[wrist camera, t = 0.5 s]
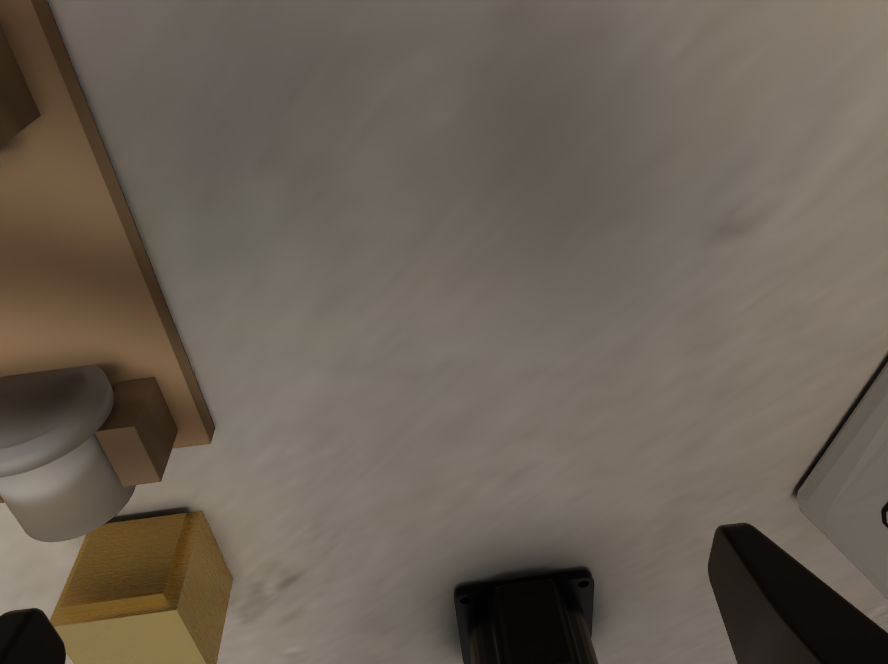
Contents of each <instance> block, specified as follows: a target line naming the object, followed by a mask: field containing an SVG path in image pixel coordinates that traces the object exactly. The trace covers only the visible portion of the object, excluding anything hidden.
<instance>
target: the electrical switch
mask: <svg viewBox="0 0 888 664" xmlns="http://www.w3.org/2000/svg"><path fill="white" fill-rule="evenodd" d="M797 500H798V504H799V507H800V511H801V512H802V513H803V514H804V515H805V516H806V517H807V518H808V519H809V520H810V521H811V522H812V523H813V524H814V525H815V526H816V527H817V528H818V529H819V530H820V531H821V532H822V533H823V534H824V535H825V536H826V537H827V538H828V539H829V540H830V541H831V542H832V543H833V544H834V545H835V546H836V547H837V548H838V549H839V550H840V551H841V552H842V553H843V554H844V555H845V556H846V557H847V558H848V560H849V561H850V562H851V563H852V564H853V565H854V566H855V567H856V568H857V569H858V570H859V571H860V572H861V573H862V574H863V575H864V576H865V577H866V578H867V579H868V580H869V581H870V582H871V583H872V584H873V585H874V586H875V587H876V588H877V589H878V590H879V591H880V592H881V593H882V594H883V595H884V596H885V597H886V598H887V599H888V362H887V363H886V365H885V366H884V368H883V369H882V371H881V372H880V373H879V375H878V376H877V378H876V379H875V381H874V382H873V384H872V385H871V386H870V388H869V389H868V391H867V392H866V394H865V395H864V397H863V398H862V399H861V401H860V402H859V404H858V405H857V407H856V408H855V409H854V411H853V412H852V414H851V415H850V417H849V418H848V420H847V421H846V422H845V424H844V425H843V427H842V428H841V430H840V431H839V433H838V434H837V435H836V437H835V438H834V440H833V441H832V443H831V444H830V446H829V447H828V448H827V450H826V451H825V453H824V454H823V456H822V457H821V459H820V460H819V461H818V463H817V464H816V466H815V467H814V469H813V470H812V471H811V473H810V474H809V476H808V477H807V479H806V480H805V482H804V483H803V484H802V486H801V487H800V489H799V490H798V493H797Z"/></svg>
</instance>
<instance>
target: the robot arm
mask: <svg viewBox="0 0 888 664" xmlns="http://www.w3.org/2000/svg"><path fill="white" fill-rule="evenodd" d="M708 574H709V579H710V583H711V586H712V589H713V592H714V595H715V598H716V601H717V604H718V607H719V610H720V613H721V616H722V619H723V622H724V624H725V627H726V630H727V633H728V636H729V639H730V642H731V645H732V648H733V651H734V654H735V657H736V660H737V663H738V664H888V633H887V632H886V631H885V630H883V629H882V628H881V627H880V626H878V625H877V624H876V623H875V622H873V621H872V620H871V619H869V618H868V617H867V616H866V615H864V614H863V613H862V612H861V611H859V610H858V609H857V608H856V607H854V606H853V605H852V604H851V603H849V602H848V601H847V600H846V599H844V598H843V597H842V596H841V595H839V594H838V593H837V592H836V591H834V590H833V589H832V588H830V587H829V586H828V585H827V584H825V583H824V582H823V581H822V580H820V579H819V578H818V577H817V576H815V575H814V574H813V573H812V572H810V571H809V570H808V569H807V568H805V567H804V566H803V565H802V564H800V563H799V562H798V561H797V560H795V559H794V558H793V557H792V556H790V555H789V554H788V553H786V552H785V551H784V550H783V549H781V548H780V547H779V546H778V545H776V544H775V543H774V542H773V541H771V540H770V539H769V538H768V537H766V536H765V535H764V534H763V533H761V532H760V531H759V530H758V529H756V528H755V527H754V526H752V525H750V524H747V523H737V524H728V525H721V526H719V527H718V528H717V529H716V531H715V534H714V538H713V543H712V548H711V552H710V557H709V561H708ZM593 595H594V581H593V577H592V574H591V572H589V571H587V570H580V571H572V572H565V573H558V574H551V575H544V576H536V577H529V578H522V579H515V580H507V581H500V582H493V583H486V584H479V585H471V586H464V587H460V588H458V589H456V590H455V592H454V601H455V608H456V615H457V622H458V628H459V635H460V642H461V649H462V655H463V662H464V664H598V661H597V657H596V654H595V650H594V647H593V643H592V640H591V635H592V615H593ZM65 659H66V650H65V645H64V642H63V640H62V639H61V637H60V636H59V634H58V633H57V631H56V630H55V628H54V627H53V625H52V624H51V622H50V621H49V619H48V618H47V616H46V615H45V613H44V612H43V611H42V610H40V609H37V608H31V609H22V610H14V611H10V612H7V613H4V614H3V615H1V616H0V664H65Z"/></svg>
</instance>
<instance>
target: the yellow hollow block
mask: <svg viewBox="0 0 888 664" xmlns="http://www.w3.org/2000/svg"><path fill="white" fill-rule="evenodd" d="M232 582H233V578H232V575H231V573H230V571H229V569H228V566H227V564H226V562H225V560H224V558H223V555H222V553H221V551H220V549H219V547H218V544H217V542H216V540H215V538H214V535H213V533H212V531H211V529H210V527H209V524H208V522H207V520H206V518H205V515H204V513H203V511H197V512H189V513H182V514H174V515H167V516H159V517H152V518H144V519H137V520H130V521H122V522H115V523H107V524H103V525H102V526H100V527H99V528H97V529H95V530H93V531H91V532H89V533H87V535H86V537H85V539H84V542H83V544H82V546H81V549H80V551H79V553H78V556H77V558H76V560H75V563H74V565H73V567H72V570H71V572H70V574H69V577H68V579H67V582H66V584H65V586H64V589H63V591H62V593H61V596H60V598H59V600H58V603H57V605H56V607H55V610H54V612H53V614H52V617H51V619H50V622H51V624H52V625H53V627H54V628H55V630H56V631H57V633H58V634H59V636H60V637H61V639H62V640H63V642H64V645H65V650H66V654H67V655H68V656H69V658H70V659H71V660H72V661H73V663H74V664H217V659H218V654H219V649H220V643H221V638H222V633H223V628H224V623H225V618H226V612H227V607H228V602H229V597H230V592H231V587H232Z"/></svg>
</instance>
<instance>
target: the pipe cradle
mask: <svg viewBox="0 0 888 664" xmlns="http://www.w3.org/2000/svg"><path fill="white" fill-rule="evenodd" d="M214 430H215V427H214V424H213V422H212V419H211V417H210V414H209V412H208V409H207V407H206V404H205V401H204V399H203V396H202V394H201V391H200V389H199V386H198V384H197V381H196V379H195V376H194V374H193V371H192V368H191V366H190V363H189V361H188V358H187V356H186V353H185V351H184V348H183V346H182V343H181V341H180V338H179V335H178V333H177V330H176V328H175V325H174V323H173V320H172V318H171V315H170V313H169V310H168V308H167V305H166V302H165V300H164V297H163V295H162V292H161V290H160V287H159V285H158V282H157V280H156V277H155V275H154V272H153V269H152V267H151V264H150V262H149V259H148V257H147V254H146V252H145V249H144V247H143V244H142V242H141V239H140V236H139V234H138V231H137V229H136V226H135V224H134V221H133V219H132V216H131V214H130V211H129V209H128V206H127V203H126V201H125V198H124V196H123V193H122V191H121V188H120V186H119V183H118V181H117V178H116V176H115V173H114V170H113V168H112V165H111V163H110V160H109V158H108V155H107V153H106V150H105V148H104V145H103V143H102V140H101V137H100V135H99V132H98V130H97V127H96V125H95V122H94V120H93V117H92V115H91V112H90V110H89V107H88V104H87V102H86V99H85V97H84V94H83V92H82V89H81V87H80V84H79V82H78V79H77V77H76V74H75V71H74V69H73V66H72V64H71V61H70V59H69V56H68V54H67V51H66V49H65V46H64V44H63V41H62V38H61V36H60V33H59V31H58V28H57V26H56V23H55V21H54V18H53V16H52V13H51V11H50V8H49V5H48V3H47V0H0V503H4V502H5V503H6V505H7V506H8V508H9V509H10V511H11V512H12V514H13V515H14V516H15V518H16V519H17V521H18V522H19V524H20V525H21V526H22V528H23V529H24V531H25V532H26V534H28V535H29V536H30V537H32V538H33V539H36V540H39V541H44V542H59V541H65V540H70V539H73V538H77V537H79V536H82V535H85V534H87V533H89V532H91V531H93V530H95V529H97V528H99V527H100V526H102V525H103V524H105V523H106V522H108V521H109V520H110V519H112V518H113V517H114V516H115V515H116V514H117V513H119V512H120V511H121V509H122V508H123V507H124V506H125V505H126V504H127V502H128V501H129V499H130V498H131V496H132V494H133V492H134V490H135V487H136V485H139V484H147V483H154V482H161V480H162V477H163V474H164V471H165V468H166V465H167V462H168V459H169V456H170V453H171V450H172V449H173V448H180V447H188V446H195V445H203V444H210V443H211V441H212V437H213V433H214Z"/></svg>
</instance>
